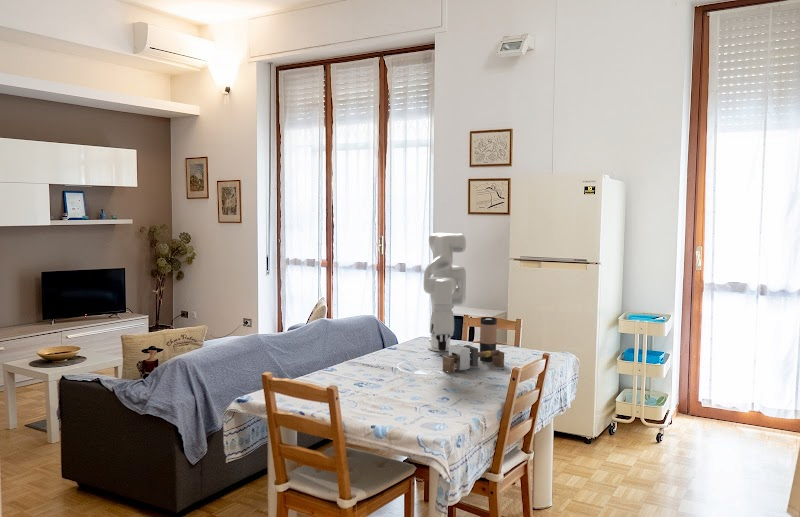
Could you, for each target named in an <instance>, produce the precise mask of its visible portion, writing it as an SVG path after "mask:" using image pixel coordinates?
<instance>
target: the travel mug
mask: <svg viewBox="0 0 800 517" xmlns="http://www.w3.org/2000/svg"><path fill="white" fill-rule="evenodd" d="M497 319H498V318H496V317H494V316H493V317H492V316H482V317H480V327H479V328H480V330H479V352H483V351H493V350H497V336H498V335H497V327H498V326H497V324H498V320H497ZM492 358H493V356H490V357H480V358H479V361H480V362H482V361H483V363H492Z"/></svg>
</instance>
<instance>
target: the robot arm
mask: <svg viewBox="0 0 800 517" xmlns="http://www.w3.org/2000/svg"><path fill="white" fill-rule="evenodd" d="M428 243H429V247H430V250H431V252H432V254H433V260H432V261H431V262H429V264H427V266H426V268H425V270H424V274H423V290H424V292H425V293H426V294H428V295H429V294H430V303H431V315H430V321H429V322H430V323H429V333H430V337H431V338H430V339H428V342H429V343H430V344H429V345H428V346H427V349H428V350H430V351H433V352H449V346H450V345H451V337H453V336H454V332H455V316H454V311H453V309H454V307H460V306H461V307H462V306H463V305H464V304H465V303H466V297H467V296H466V295H467V290H466V289H467V272H466V269H465V267H464V266H462V265H452V264H453V262H454V261H453V260H454V259H453V258H454V257H453V254H454V253H465V251H466V248H467V240H466V236H465V235H464V234H463V233H449V232H435V233H431V234H430V235H429V236H428ZM432 275H433V276H432Z"/></svg>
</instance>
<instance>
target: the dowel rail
mask: <svg viewBox="0 0 800 517" xmlns="http://www.w3.org/2000/svg"><path fill="white" fill-rule="evenodd" d="M490 356H493V358H492V362H491V365H493V366H496V367H498V366H499V368H504V367H505V352H503V351H501V350H499V349H496V350H493V351H483V352H480V351H478V359H480V357H490ZM470 359H471V352H470ZM455 360H457V355H450V356H449V355H443V356H442V371H443V372H445V371H448V372H449V373H453V374H455V368H454V361H455ZM449 373H448V374H449Z"/></svg>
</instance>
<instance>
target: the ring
mask: <svg viewBox="0 0 800 517" xmlns="http://www.w3.org/2000/svg"><path fill="white" fill-rule="evenodd" d="M462 346H464V347H467V348H470V353H471V359H470V367H471V368H477V367H478V366H479V358H478V352H479V348H478V347H475V346H472V345H470V344H464V345H462Z"/></svg>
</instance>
